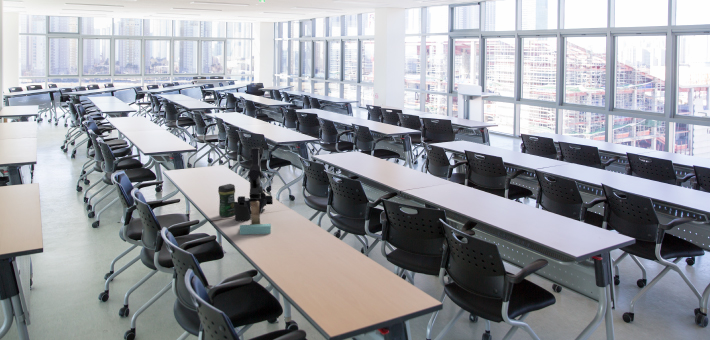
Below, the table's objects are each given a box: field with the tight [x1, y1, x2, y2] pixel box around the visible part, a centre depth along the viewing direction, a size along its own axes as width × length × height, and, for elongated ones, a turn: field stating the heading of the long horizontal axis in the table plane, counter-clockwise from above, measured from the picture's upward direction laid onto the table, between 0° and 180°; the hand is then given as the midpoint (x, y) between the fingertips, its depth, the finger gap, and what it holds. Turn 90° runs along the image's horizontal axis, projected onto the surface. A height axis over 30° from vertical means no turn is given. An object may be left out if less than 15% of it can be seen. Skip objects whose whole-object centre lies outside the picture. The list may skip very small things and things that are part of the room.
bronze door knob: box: [249, 201, 262, 225], centre depth 294 cm, size 6×6×14 cm
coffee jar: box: [217, 183, 236, 218], centre depth 319 cm, size 10×8×19 cm
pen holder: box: [234, 201, 251, 222], centre depth 312 cm, size 9×9×10 cm
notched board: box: [239, 223, 272, 236], centre depth 293 cm, size 12×16×4 cm
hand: (255, 214), depth 293 cm, fingers closed on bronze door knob, 4 cm apart
